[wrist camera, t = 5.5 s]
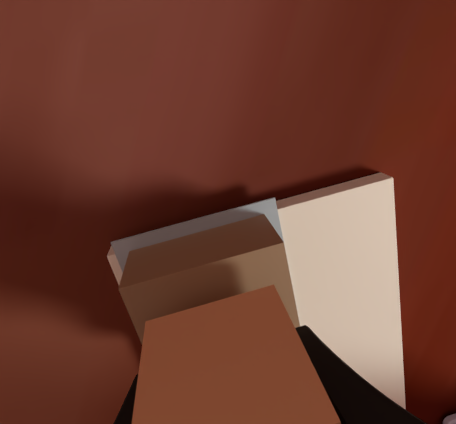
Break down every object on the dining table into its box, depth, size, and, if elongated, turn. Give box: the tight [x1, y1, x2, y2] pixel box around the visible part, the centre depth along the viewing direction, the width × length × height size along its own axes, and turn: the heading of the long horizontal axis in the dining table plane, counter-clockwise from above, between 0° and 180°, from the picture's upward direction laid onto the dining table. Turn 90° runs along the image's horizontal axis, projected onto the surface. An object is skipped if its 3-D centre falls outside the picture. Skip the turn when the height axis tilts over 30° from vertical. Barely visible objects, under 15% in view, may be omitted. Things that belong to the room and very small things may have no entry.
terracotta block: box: [132, 285, 341, 424], centre depth 10 cm, size 4×4×5 cm
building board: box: [107, 172, 406, 410], centre depth 17 cm, size 13×16×4 cm
